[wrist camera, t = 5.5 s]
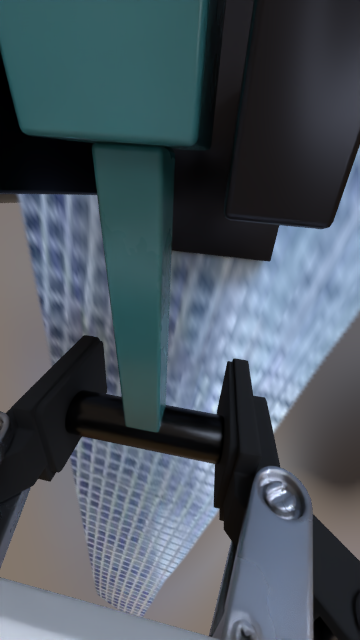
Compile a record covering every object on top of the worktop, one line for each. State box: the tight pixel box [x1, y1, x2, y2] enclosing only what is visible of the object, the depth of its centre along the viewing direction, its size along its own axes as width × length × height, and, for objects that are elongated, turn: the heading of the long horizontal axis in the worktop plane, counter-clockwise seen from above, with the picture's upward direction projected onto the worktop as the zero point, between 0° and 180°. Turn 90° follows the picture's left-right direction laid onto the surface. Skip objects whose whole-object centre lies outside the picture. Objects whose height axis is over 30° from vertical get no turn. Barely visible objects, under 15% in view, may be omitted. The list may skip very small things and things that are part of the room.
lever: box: [0, 0, 226, 464], centre depth 5 cm, size 11×5×2 cm, turn 176°
